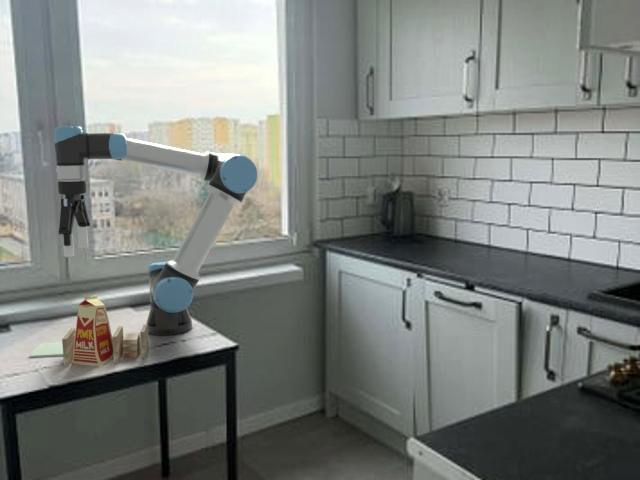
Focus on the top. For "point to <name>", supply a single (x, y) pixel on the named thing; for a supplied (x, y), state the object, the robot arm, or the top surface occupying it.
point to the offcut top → (131, 339)
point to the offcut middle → (131, 348)
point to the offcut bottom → (131, 354)
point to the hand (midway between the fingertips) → (76, 252)
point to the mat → (48, 350)
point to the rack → (117, 344)
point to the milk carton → (92, 334)
